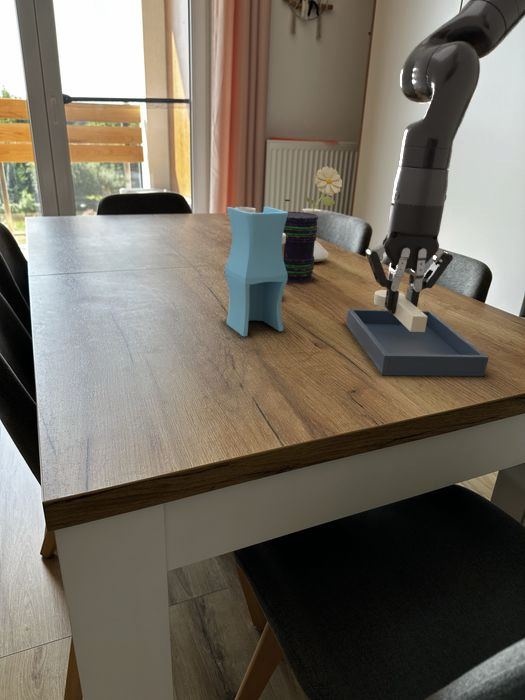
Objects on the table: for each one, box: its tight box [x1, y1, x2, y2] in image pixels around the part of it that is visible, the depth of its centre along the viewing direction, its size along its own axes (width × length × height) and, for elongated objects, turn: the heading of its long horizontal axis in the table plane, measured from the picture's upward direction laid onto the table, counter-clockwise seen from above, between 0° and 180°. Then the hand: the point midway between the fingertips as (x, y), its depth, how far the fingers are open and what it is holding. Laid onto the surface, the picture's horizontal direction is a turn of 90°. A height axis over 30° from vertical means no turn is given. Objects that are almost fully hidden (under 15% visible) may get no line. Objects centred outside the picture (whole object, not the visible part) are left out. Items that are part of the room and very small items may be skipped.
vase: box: [224, 206, 289, 337], centre depth 87 cm, size 8×8×20 cm
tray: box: [345, 308, 489, 377], centre depth 84 cm, size 16×22×3 cm
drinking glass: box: [234, 206, 257, 213], centre depth 165 cm, size 7×7×10 cm
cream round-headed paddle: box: [373, 289, 428, 332], centre depth 81 cm, size 16×5×2 cm, turn 5°
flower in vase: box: [302, 165, 343, 263], centre depth 138 cm, size 13×11×25 cm
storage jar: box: [283, 198, 319, 284], centre depth 121 cm, size 10×10×18 cm
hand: (399, 312), depth 82 cm, fingers closed on cream round-headed paddle, 2 cm apart
